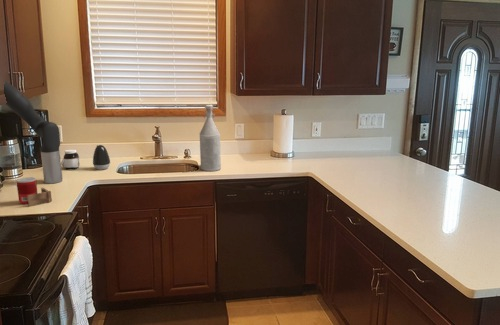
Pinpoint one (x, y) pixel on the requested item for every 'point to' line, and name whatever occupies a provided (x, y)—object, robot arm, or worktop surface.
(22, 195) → the canned food
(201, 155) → the grey bottle
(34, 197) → the v-block stop
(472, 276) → the worktop surface
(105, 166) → the black egg shaped device
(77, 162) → the spread jar
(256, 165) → the worktop surface
